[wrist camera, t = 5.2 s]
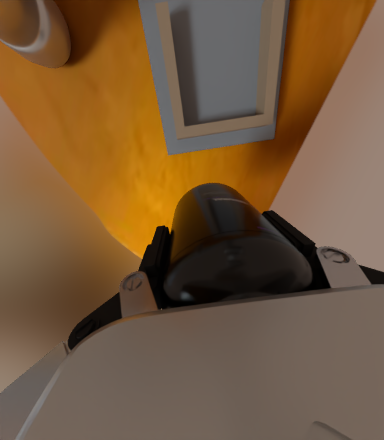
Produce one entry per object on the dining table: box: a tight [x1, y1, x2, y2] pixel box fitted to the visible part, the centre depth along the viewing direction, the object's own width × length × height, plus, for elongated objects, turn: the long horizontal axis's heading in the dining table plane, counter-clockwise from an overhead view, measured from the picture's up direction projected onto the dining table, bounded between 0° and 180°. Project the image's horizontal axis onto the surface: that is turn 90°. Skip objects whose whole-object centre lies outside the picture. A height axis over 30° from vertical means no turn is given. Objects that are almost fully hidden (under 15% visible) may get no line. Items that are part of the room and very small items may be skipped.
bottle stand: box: [138, 0, 290, 155], centre depth 17 cm, size 16×16×4 cm
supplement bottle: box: [160, 183, 317, 310], centre depth 8 cm, size 7×7×12 cm
